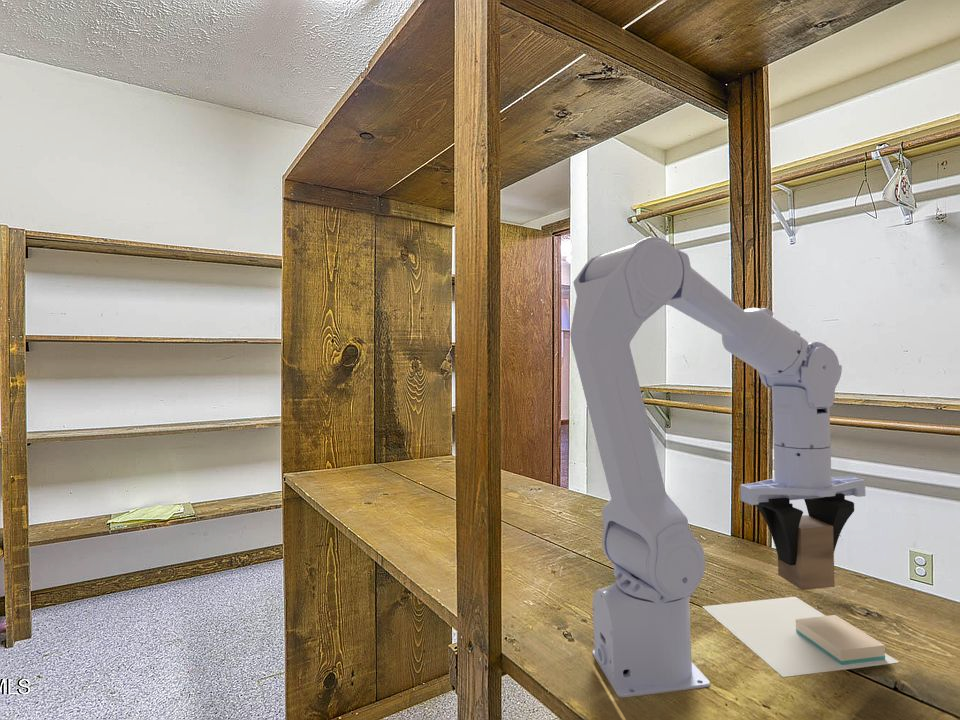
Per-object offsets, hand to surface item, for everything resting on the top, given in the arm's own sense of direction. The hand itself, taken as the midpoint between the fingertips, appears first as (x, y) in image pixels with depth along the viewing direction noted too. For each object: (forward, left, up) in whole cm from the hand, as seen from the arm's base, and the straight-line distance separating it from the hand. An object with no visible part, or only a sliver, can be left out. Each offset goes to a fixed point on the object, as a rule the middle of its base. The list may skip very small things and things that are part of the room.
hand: (804, 560), depth 62 cm
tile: (0, -1, -7) cm, 7 cm away
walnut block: (0, 0, -2) cm, 2 cm away
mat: (-3, -1, -8) cm, 9 cm away
